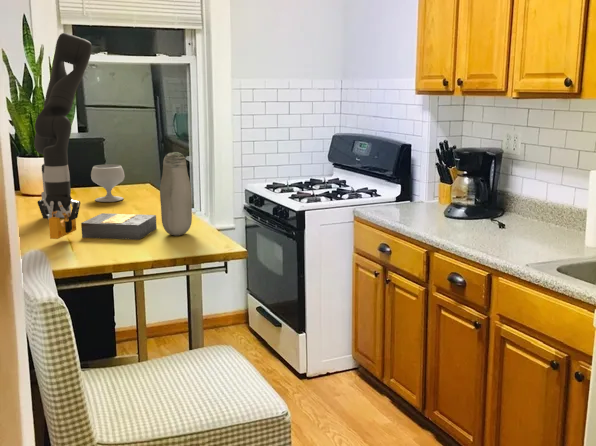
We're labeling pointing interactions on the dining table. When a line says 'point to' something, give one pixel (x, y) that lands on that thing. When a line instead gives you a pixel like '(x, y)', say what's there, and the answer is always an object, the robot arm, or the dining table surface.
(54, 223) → the pipe clamp
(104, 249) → the dining table surface
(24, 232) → the dining table surface
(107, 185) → the chalice
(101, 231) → the steel riser
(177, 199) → the grey bottle
